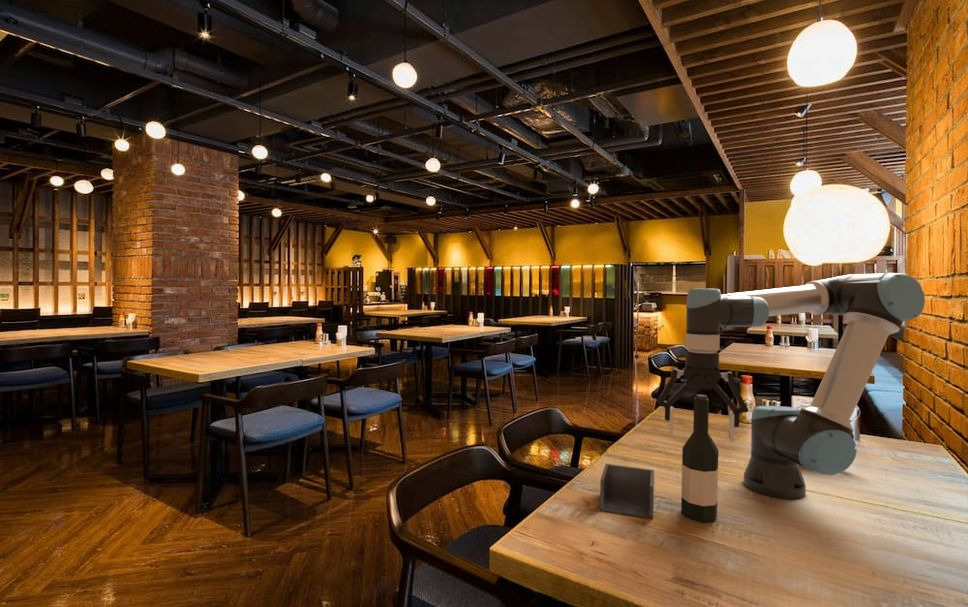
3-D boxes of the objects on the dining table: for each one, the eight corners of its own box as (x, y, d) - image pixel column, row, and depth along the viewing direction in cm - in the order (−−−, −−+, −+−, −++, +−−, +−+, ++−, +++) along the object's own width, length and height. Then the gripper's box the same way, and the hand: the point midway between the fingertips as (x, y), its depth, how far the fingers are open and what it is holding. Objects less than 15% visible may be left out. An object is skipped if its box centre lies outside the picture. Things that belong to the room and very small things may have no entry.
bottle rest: (653, 499, 128) (654, 470, 128) (652, 519, 117) (653, 486, 117) (605, 492, 132) (605, 463, 132) (600, 510, 122) (600, 479, 121)
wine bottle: (721, 525, 114) (724, 400, 114) (684, 521, 116) (687, 398, 115) (712, 509, 123) (715, 392, 122) (677, 506, 124) (680, 391, 123)
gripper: (757, 351, 117) (755, 437, 118) (649, 346, 126) (647, 427, 127) (763, 355, 110) (760, 447, 111) (648, 350, 119) (646, 435, 120)
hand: (700, 436), depth 119 cm, fingers open, 13 cm apart
